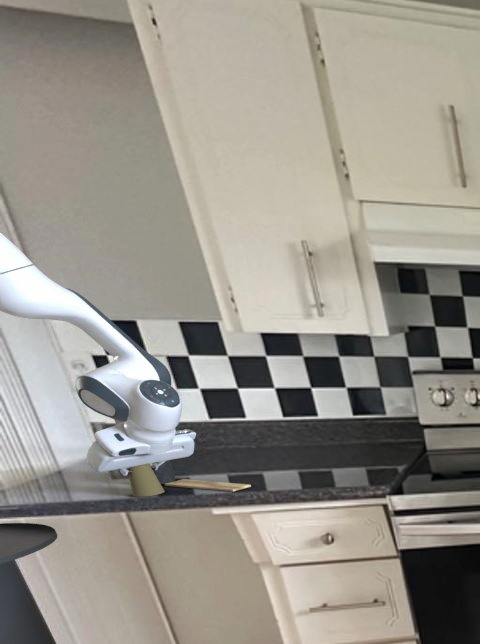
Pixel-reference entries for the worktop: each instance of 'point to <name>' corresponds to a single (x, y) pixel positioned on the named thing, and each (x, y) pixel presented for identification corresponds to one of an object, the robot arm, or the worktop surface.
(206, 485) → the strip
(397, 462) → the worktop surface
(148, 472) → the olive green tapered cylinder
